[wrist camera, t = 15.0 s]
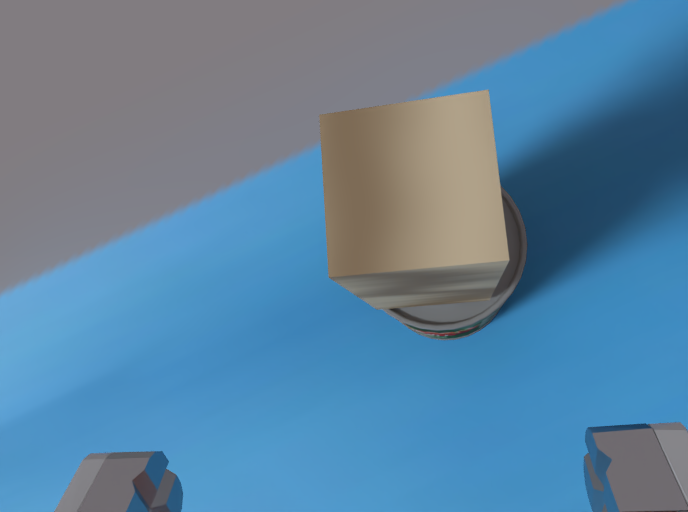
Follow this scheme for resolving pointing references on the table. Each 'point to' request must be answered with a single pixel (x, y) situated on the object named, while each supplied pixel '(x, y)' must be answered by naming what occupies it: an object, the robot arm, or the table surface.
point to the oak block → (414, 201)
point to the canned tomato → (476, 315)
